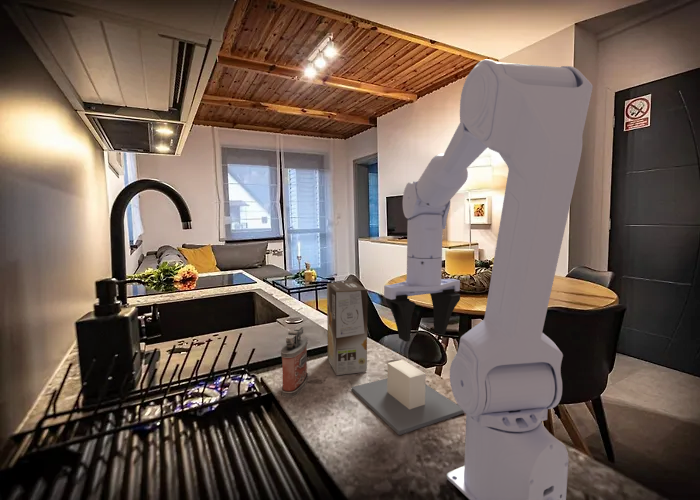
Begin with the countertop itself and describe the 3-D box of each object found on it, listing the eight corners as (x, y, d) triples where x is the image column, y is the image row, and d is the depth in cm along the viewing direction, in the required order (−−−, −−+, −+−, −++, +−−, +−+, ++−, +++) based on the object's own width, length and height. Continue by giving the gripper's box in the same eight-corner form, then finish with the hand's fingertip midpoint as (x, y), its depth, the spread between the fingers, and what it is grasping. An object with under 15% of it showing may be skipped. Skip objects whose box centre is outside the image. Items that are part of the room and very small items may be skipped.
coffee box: (368, 372, 68) (369, 289, 66) (335, 376, 66) (335, 291, 65) (355, 354, 77) (355, 281, 75) (326, 357, 75) (325, 282, 73)
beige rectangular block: (402, 388, 60) (402, 359, 60) (425, 404, 55) (425, 373, 55) (387, 392, 59) (387, 363, 59) (409, 409, 54) (409, 377, 53)
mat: (464, 413, 54) (464, 409, 54) (398, 435, 48) (399, 431, 48) (408, 376, 66) (408, 373, 66) (351, 390, 61) (351, 387, 61)
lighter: (296, 398, 58) (295, 339, 57) (277, 396, 59) (276, 337, 58) (311, 376, 66) (311, 324, 65) (294, 374, 67) (293, 323, 66)
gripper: (441, 252, 66) (439, 323, 67) (374, 256, 59) (373, 335, 61) (470, 256, 60) (467, 334, 61) (399, 261, 53) (397, 349, 54)
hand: (422, 336), depth 60 cm, fingers open, 7 cm apart
